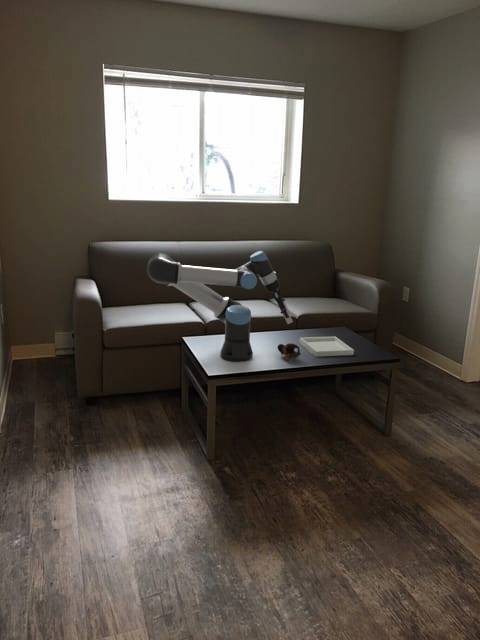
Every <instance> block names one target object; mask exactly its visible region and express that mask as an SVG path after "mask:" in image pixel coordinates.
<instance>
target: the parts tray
mask: <svg viewBox="0 0 480 640" xmlns="http://www.w3.org/2000/svg"><path fill="white" fill-rule="evenodd" d="M298 343H300V344H301V345H302V346H303V347H304V348H305V349H306V350H307V351H309V352H310V353H311V354H312V355H313V356H314V357H333V356H335V357H336V356H354V352H355V349H353V348H352V347H350V346H349V345H348V344H346V343H345V342H344V341H342V340H341V339H339V338H338V337H337V336H311V337H305V336H304V337H299V342H298Z"/></svg>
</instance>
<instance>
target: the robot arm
mask: <svg viewBox="0 0 480 640" xmlns="http://www.w3.org/2000/svg"><path fill="white" fill-rule="evenodd" d="M146 269H147V270H146V271H147V276H148V277H149V278H150V280H152V281H154V282H155V283H157V284H164V285H165V286H166V287H170V286H171V287H174V288H175V289H177V290H179V291H181V292H182V293H183V294H185V295H187V297H189V298H191V299H193V300H194V301H196V302H197V303H199V304H200V305H202V306H203V307H205V308H206V309H208V310H209V311H211V312H213V316H214V318H216V319H217V320H219V321H220V322H222V323H224V327H225V328H224V341H223V344H222V347H221V348H220V349H221V350H220V358H222V359H223V360H225V361H229V362H236V363H238V362H239V363H240V362H247V361H250V360H252V359H253V356H254V355H253V353H254V352H253V349H252V345H251V341H250V340H251V338H250V337H251V320H252V311H251V309H250V308H249V307H247V306H245V305H243V304H242V303H241V302H239V301H236V300H233V299H232V298H230V297H229V296H224V297H223V296H222V295H220V294H219V293H218V292H216V291H214V290H213V289H212V288H211V287H209V286H206V285H212V286H214V285H215V286H227V287H237V288H244V289H245V290H252V289H254V287H256V285H257V284H258V278H257V277H256V276H258V277H259V280H260V281H261V283H262V285H263V287H264V289H265V291H266V292H268V293H270V292H271V295H272V297H273V298H274V300H275V302H276V303H277V306H278V307H279V309H280V312H279V313H280V314H281V315H283V317H284V319H285V322H286V324H287V325H289V324H291V323H293V322H294V321H293V319H292V317H291V315H290V313H291V312H290V310H289V308H288V306H287V304H286V302H285V301H286V300H285V298H283V296H282V294H281V291H280V289H279V288H280V287H281V282H280V280H279V279H278V278H277V275H276V274H277V272H276V271H275V270H274V268H273V266H272V264H271V262H270V259H269V258H268V257H267V255H266V252H265V251H263V250H259V251H256V252H254V253H252V254H251V255H250V256H249V261H248V262H246V263H244V264H243V265H240V266H239V267H237V268H235V269H230V268H219V267H207V266H196V265H186V264H184V265H183V264H181V263H180V262H178V261H177V262H176V261H175V260H173V259H172V258H171V256H170V255H169V254H167V253H164V252H158V253H155V254H154V255H152V256H151V257H150V258H149V260H148V262H147V268H146Z"/></svg>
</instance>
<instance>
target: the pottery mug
mask: <svg viewBox="0 0 480 640" xmlns="http://www.w3.org/2000/svg"><path fill="white" fill-rule="evenodd" d="M295 349H297V351H296V350H295ZM277 350H278V352H279V353H280V354H281V356H283V355H284V357H283V360H284V361H286V362H287V361H288V360H289V361H290V360H294V359H297V358H299V356H301V349H300V346H298V344H296V343H287V344H283V343H280V344H278V345H277Z"/></svg>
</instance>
